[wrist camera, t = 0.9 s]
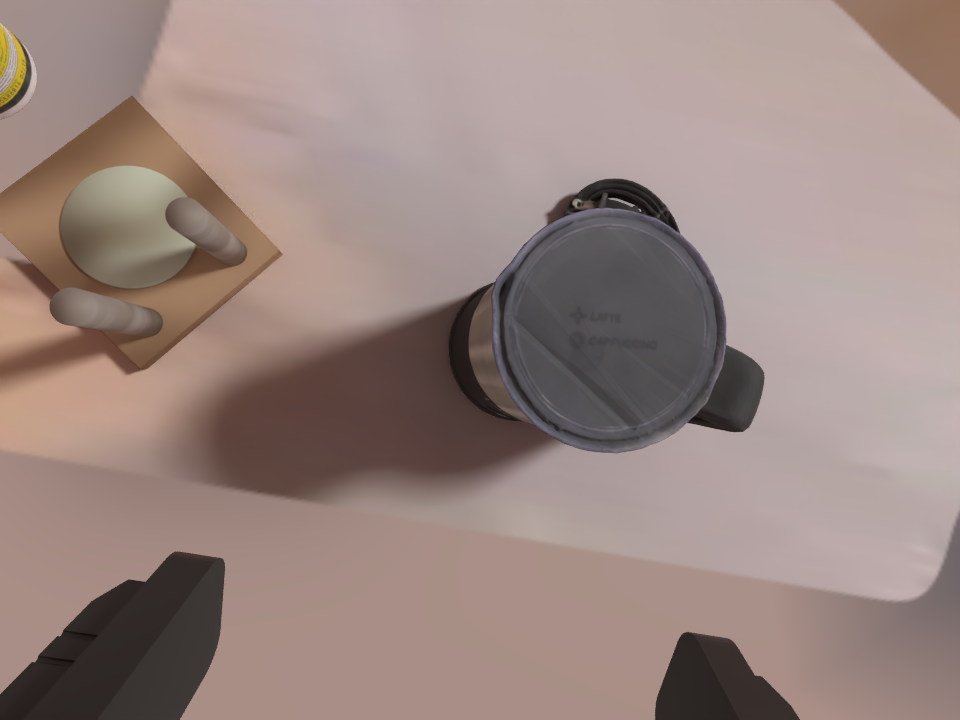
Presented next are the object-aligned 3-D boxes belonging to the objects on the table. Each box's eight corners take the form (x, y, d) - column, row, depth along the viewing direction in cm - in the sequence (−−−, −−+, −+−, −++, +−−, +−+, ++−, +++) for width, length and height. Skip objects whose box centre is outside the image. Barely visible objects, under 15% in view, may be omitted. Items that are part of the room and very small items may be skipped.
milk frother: (441, 418, 32) (486, 454, 18) (452, 171, 33) (504, 10, 18) (650, 424, 35) (839, 459, 20) (657, 194, 35) (846, 69, 21)
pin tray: (-8, 215, 28) (-161, 154, 20) (140, 104, 30) (51, 7, 22) (147, 368, 29) (60, 366, 22) (282, 254, 31) (246, 213, 23)
